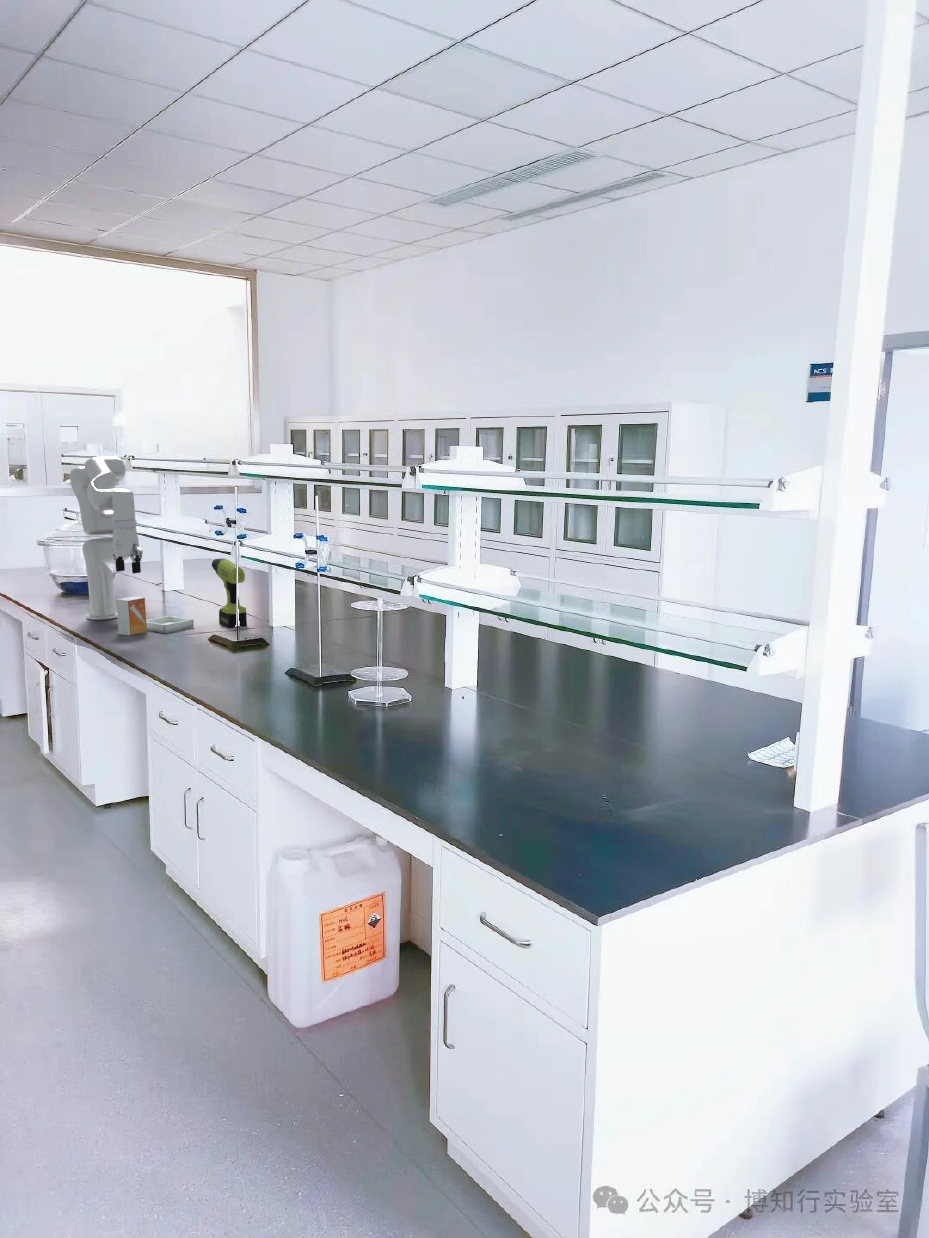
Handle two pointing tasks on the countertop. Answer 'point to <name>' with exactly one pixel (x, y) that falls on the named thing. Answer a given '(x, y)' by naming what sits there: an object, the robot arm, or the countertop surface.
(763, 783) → the countertop surface
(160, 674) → the countertop surface
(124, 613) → the small box
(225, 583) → the cordless drill
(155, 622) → the tray
